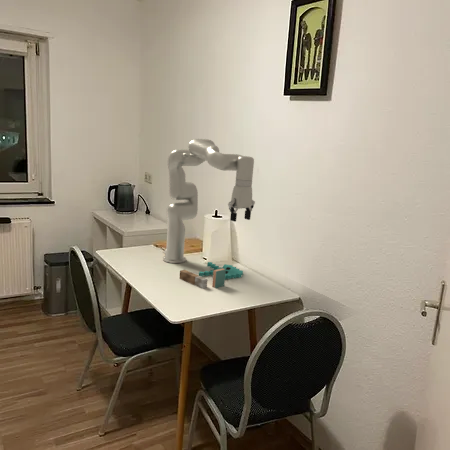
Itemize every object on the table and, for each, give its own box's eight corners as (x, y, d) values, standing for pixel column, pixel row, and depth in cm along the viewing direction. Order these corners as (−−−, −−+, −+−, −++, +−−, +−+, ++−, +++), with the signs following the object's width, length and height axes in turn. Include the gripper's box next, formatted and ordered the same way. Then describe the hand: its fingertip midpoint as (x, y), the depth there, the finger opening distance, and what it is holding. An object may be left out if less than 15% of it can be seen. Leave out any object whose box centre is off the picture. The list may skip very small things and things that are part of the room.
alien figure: (198, 276, 225) (238, 282, 221) (198, 272, 224) (238, 278, 221) (208, 265, 244) (244, 271, 241) (208, 261, 244) (245, 267, 240)
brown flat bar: (179, 278, 219) (179, 270, 218) (184, 277, 221) (184, 269, 220) (202, 288, 208) (202, 280, 207) (206, 287, 210) (207, 278, 209)
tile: (212, 286, 211) (213, 270, 209) (221, 284, 215) (222, 268, 214) (215, 288, 210) (216, 271, 208) (224, 285, 214) (225, 269, 212)
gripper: (249, 182, 216) (246, 217, 220) (224, 182, 204) (221, 220, 208) (262, 184, 211) (258, 220, 215) (236, 185, 199) (233, 223, 203)
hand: (240, 220), depth 211 cm, fingers open, 9 cm apart
